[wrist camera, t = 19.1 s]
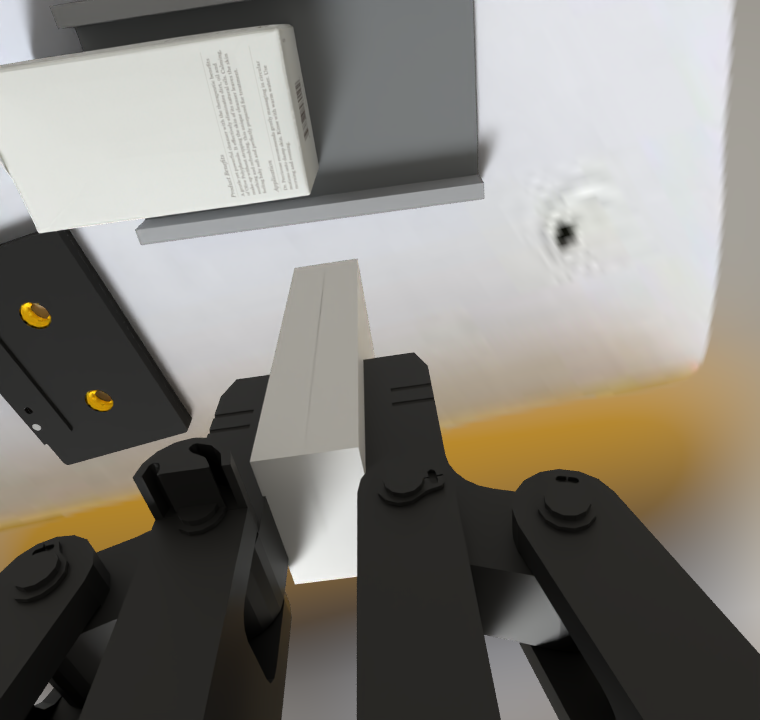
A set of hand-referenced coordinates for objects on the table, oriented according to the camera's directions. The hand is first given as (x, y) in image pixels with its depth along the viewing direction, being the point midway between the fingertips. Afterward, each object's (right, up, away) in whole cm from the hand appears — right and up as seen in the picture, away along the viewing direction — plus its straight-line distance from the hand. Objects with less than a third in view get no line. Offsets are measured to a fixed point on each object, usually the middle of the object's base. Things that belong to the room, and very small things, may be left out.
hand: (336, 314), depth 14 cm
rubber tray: (-4, +14, +20) cm, 25 cm away
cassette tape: (-23, 0, +30) cm, 37 cm away
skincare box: (-3, +12, +17) cm, 21 cm away
